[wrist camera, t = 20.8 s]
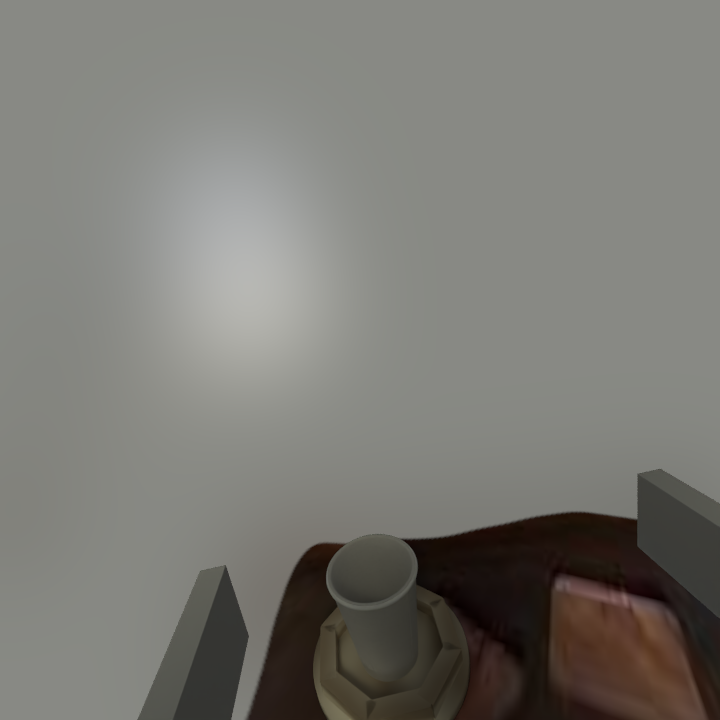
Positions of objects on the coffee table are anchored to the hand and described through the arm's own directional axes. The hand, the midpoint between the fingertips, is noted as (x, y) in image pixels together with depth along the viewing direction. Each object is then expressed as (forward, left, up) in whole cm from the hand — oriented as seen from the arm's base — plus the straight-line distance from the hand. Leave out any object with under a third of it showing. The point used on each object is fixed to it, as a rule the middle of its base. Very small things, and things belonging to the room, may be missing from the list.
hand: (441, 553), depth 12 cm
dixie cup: (+3, -19, -27) cm, 33 cm away
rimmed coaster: (+3, -19, -28) cm, 34 cm away
